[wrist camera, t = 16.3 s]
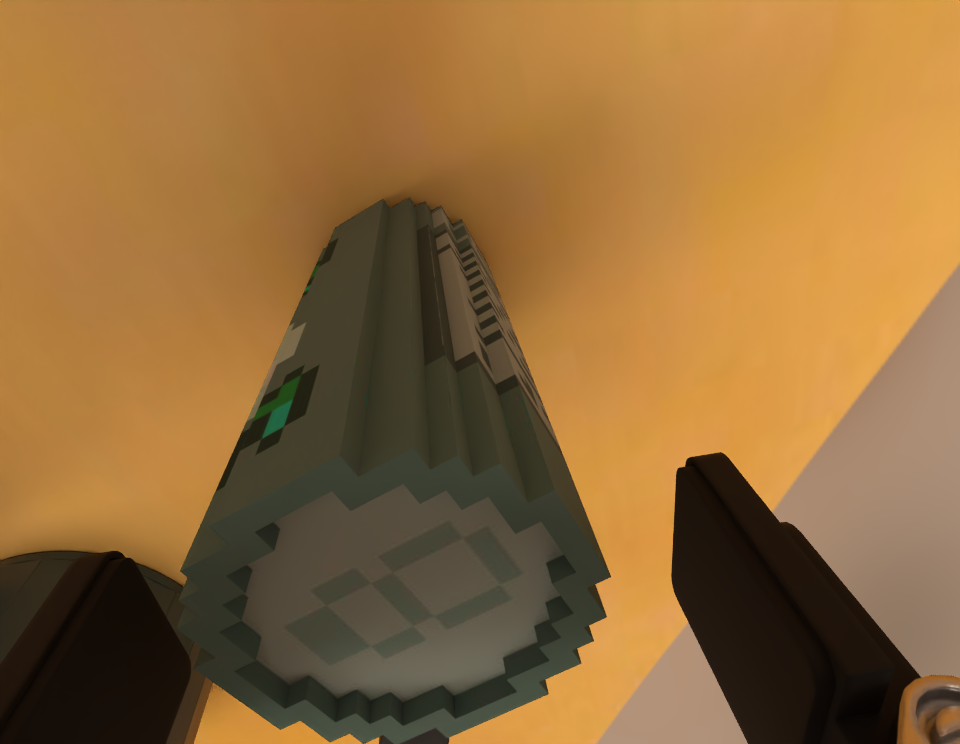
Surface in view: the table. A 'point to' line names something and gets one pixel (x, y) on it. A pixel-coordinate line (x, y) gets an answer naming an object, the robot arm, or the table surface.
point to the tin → (30, 579)
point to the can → (394, 505)
